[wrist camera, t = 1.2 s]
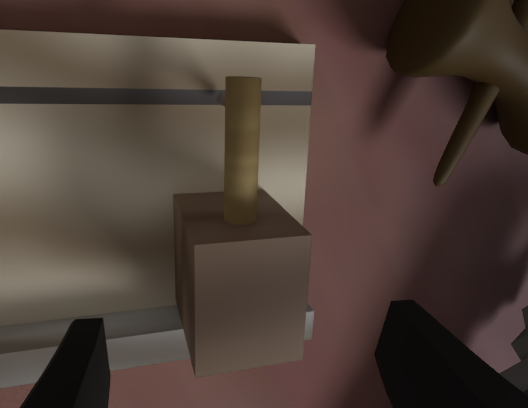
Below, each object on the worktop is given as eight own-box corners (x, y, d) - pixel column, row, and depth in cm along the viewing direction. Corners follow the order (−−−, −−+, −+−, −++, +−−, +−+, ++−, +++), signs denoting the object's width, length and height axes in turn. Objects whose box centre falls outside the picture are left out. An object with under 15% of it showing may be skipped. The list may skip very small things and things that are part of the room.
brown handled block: (259, 289, 22) (302, 359, 17) (175, 299, 21) (195, 377, 16) (268, 73, 19) (324, 82, 14) (170, 70, 18) (193, 80, 13)
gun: (333, 363, 39) (382, 589, 27) (616, 160, 28) (909, 384, 16) (359, 375, 40) (417, 596, 28) (639, 186, 29) (925, 410, 17)
